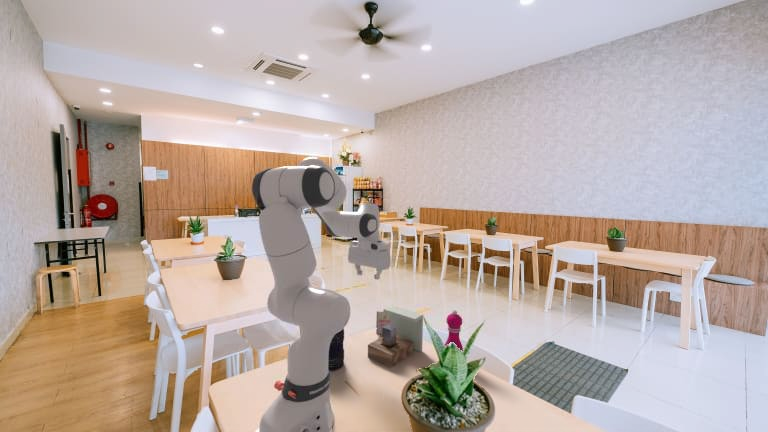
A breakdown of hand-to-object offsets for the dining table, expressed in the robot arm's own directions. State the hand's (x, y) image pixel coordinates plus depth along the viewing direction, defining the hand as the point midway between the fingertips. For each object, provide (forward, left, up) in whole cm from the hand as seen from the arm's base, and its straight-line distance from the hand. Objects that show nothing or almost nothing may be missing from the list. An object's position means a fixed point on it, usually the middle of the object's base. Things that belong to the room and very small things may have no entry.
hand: (368, 276), depth 125 cm
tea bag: (+18, +6, -31) cm, 37 cm away
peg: (+3, -9, -31) cm, 33 cm away
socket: (+4, -9, -31) cm, 33 cm away
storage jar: (-16, +4, -31) cm, 35 cm away
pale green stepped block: (+12, -9, -31) cm, 34 cm away
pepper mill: (+17, -30, -31) cm, 47 cm away
